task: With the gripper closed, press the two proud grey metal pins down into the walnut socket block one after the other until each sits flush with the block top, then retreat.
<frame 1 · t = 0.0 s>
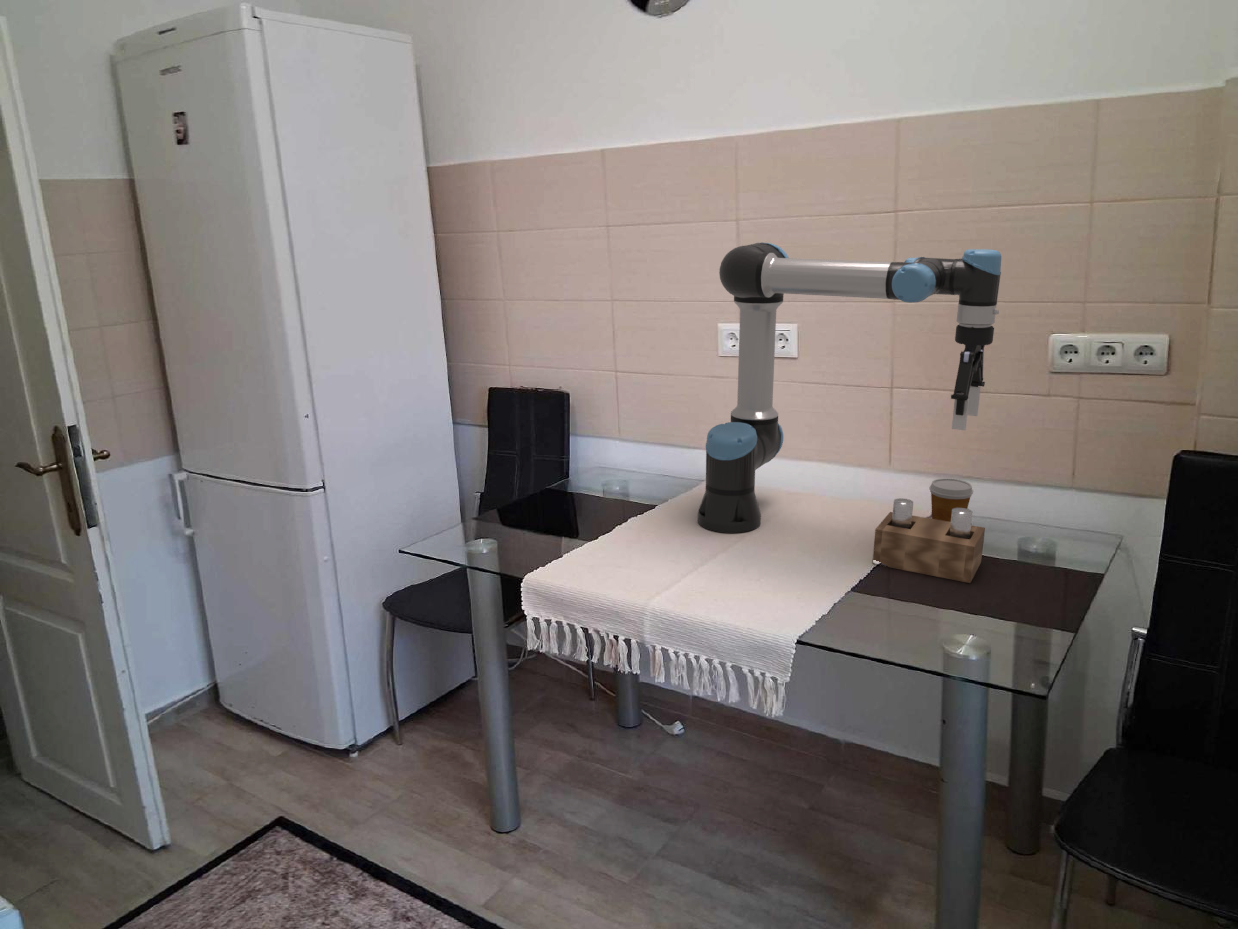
hand: (964, 422, 198), 28 cm above the table, fingers open, 13 cm apart
socket block: (926, 563, 195), on the table
pin 1: (902, 517, 195), point 9 cm above the table, slide at 5.0 cm
pin 2: (960, 527, 189), point 9 cm above the table, slide at 5.0 cm
disposable coffee cup: (946, 533, 212), on the table
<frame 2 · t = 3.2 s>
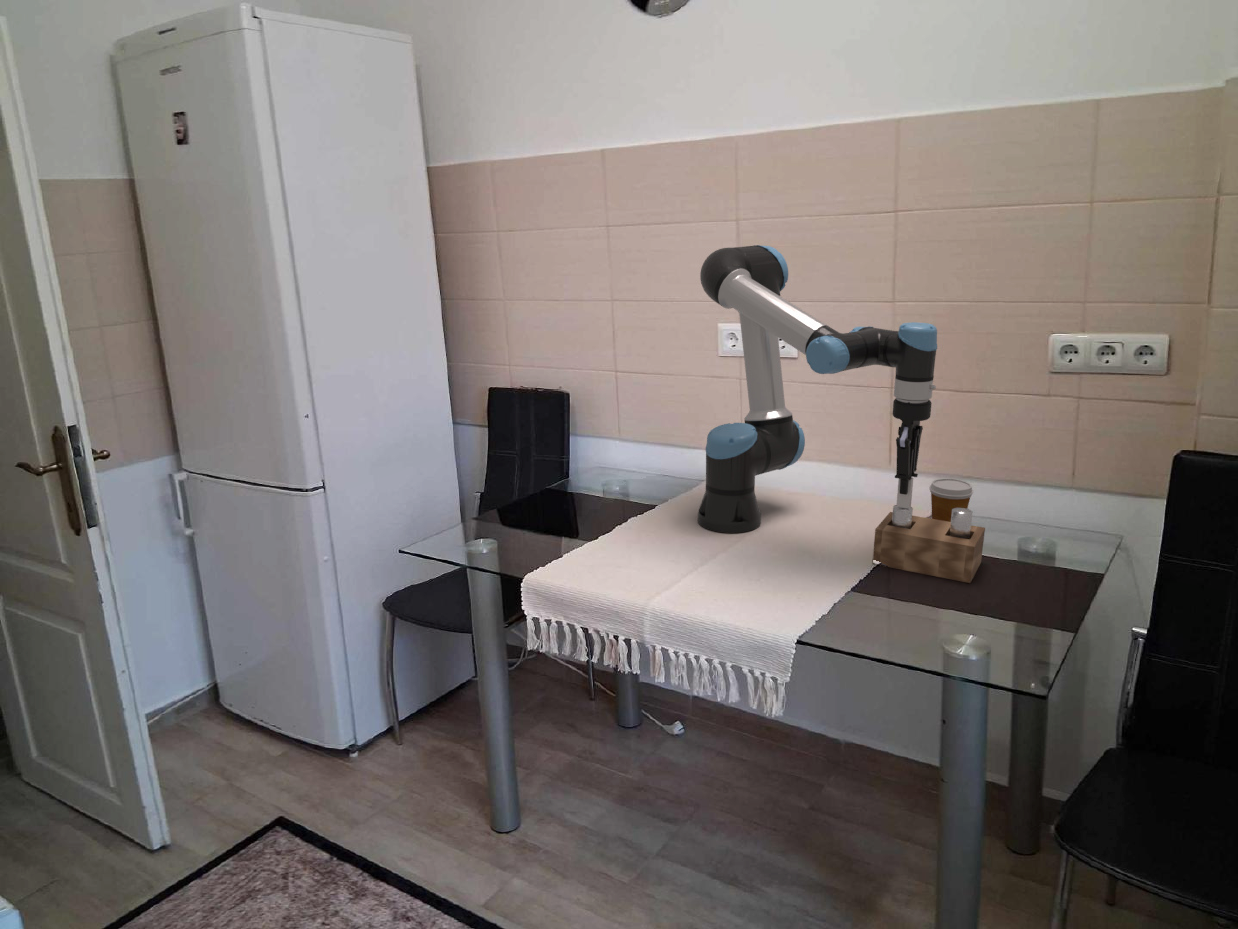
hand: (903, 506, 194), 12 cm above the table, fingers closed
pin 1: (901, 523, 196), point 8 cm above the table, slide at 3.6 cm, touching gripper
everything else where it was.
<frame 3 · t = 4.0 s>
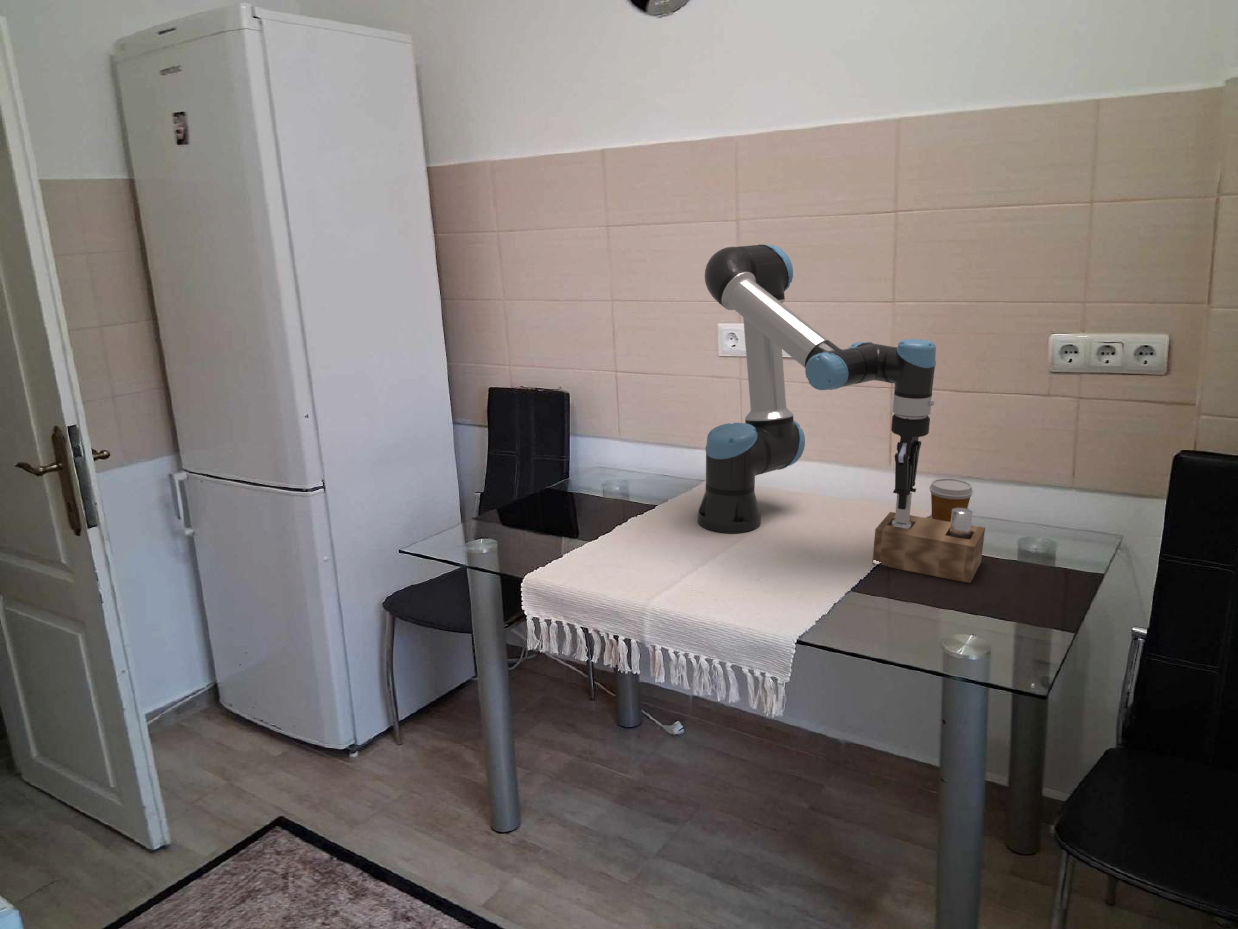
hand: (902, 521, 195), 9 cm above the table, fingers closed
pin 1: (900, 538, 197), point 5 cm above the table, slide at 0.2 cm, touching gripper
everything else where it was.
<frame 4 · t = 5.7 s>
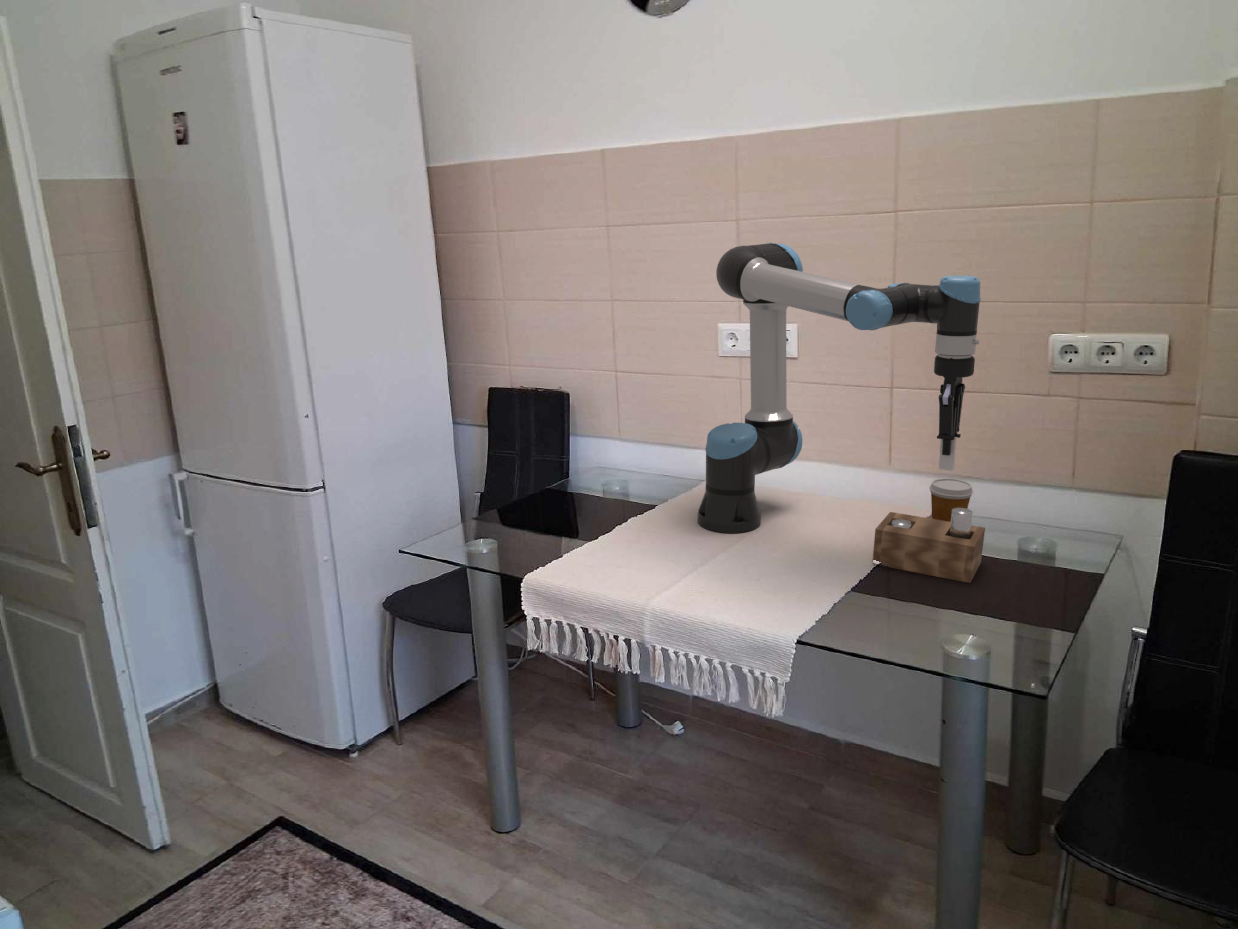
hand: (946, 468, 187), 22 cm above the table, fingers closed
pin 1: (900, 538, 197), point 4 cm above the table, slide at 0.2 cm
everything else where it was.
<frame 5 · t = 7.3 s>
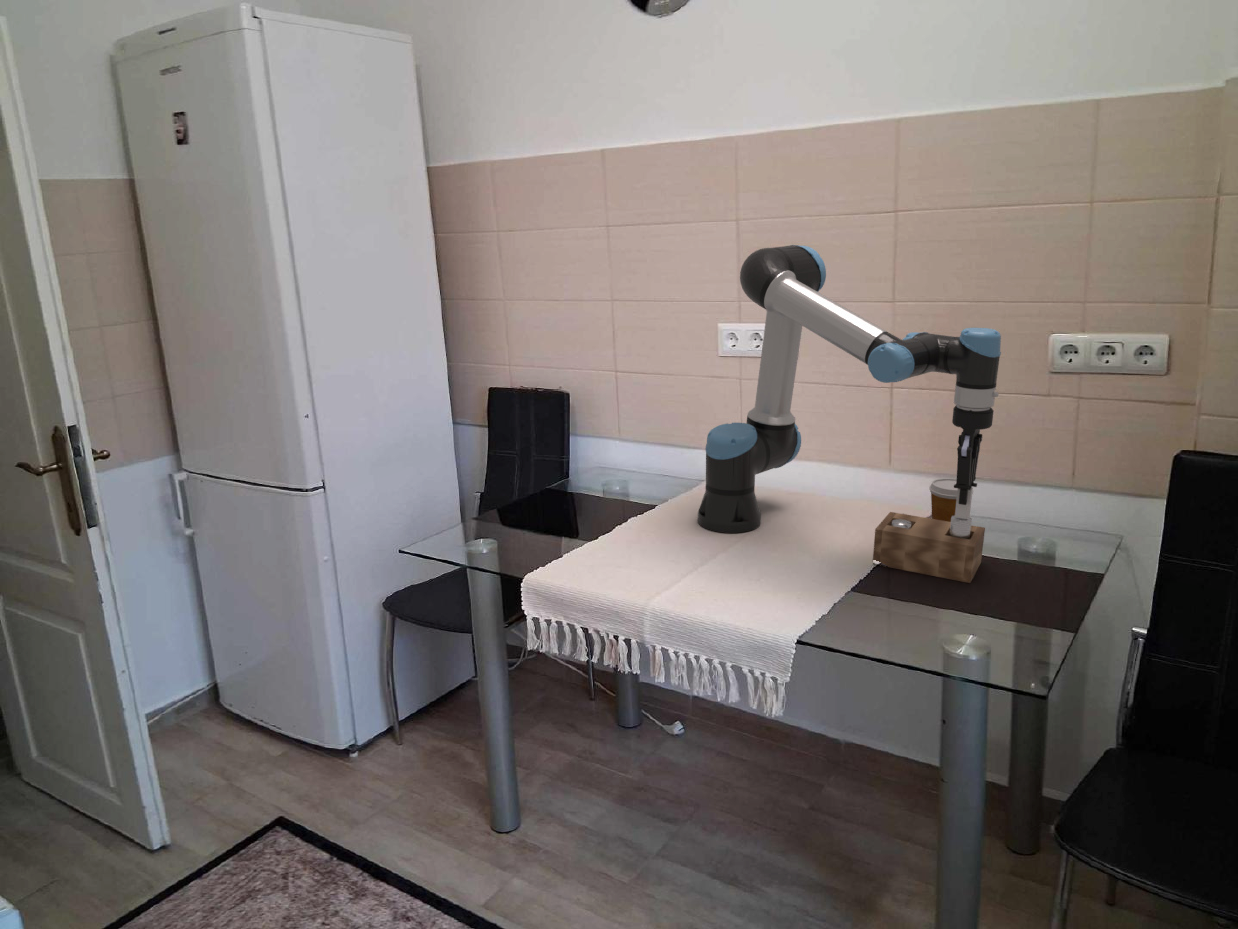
hand: (962, 517, 189), 12 cm above the table, fingers closed
pin 2: (959, 534, 190), point 8 cm above the table, slide at 3.4 cm, touching gripper
everything else where it was.
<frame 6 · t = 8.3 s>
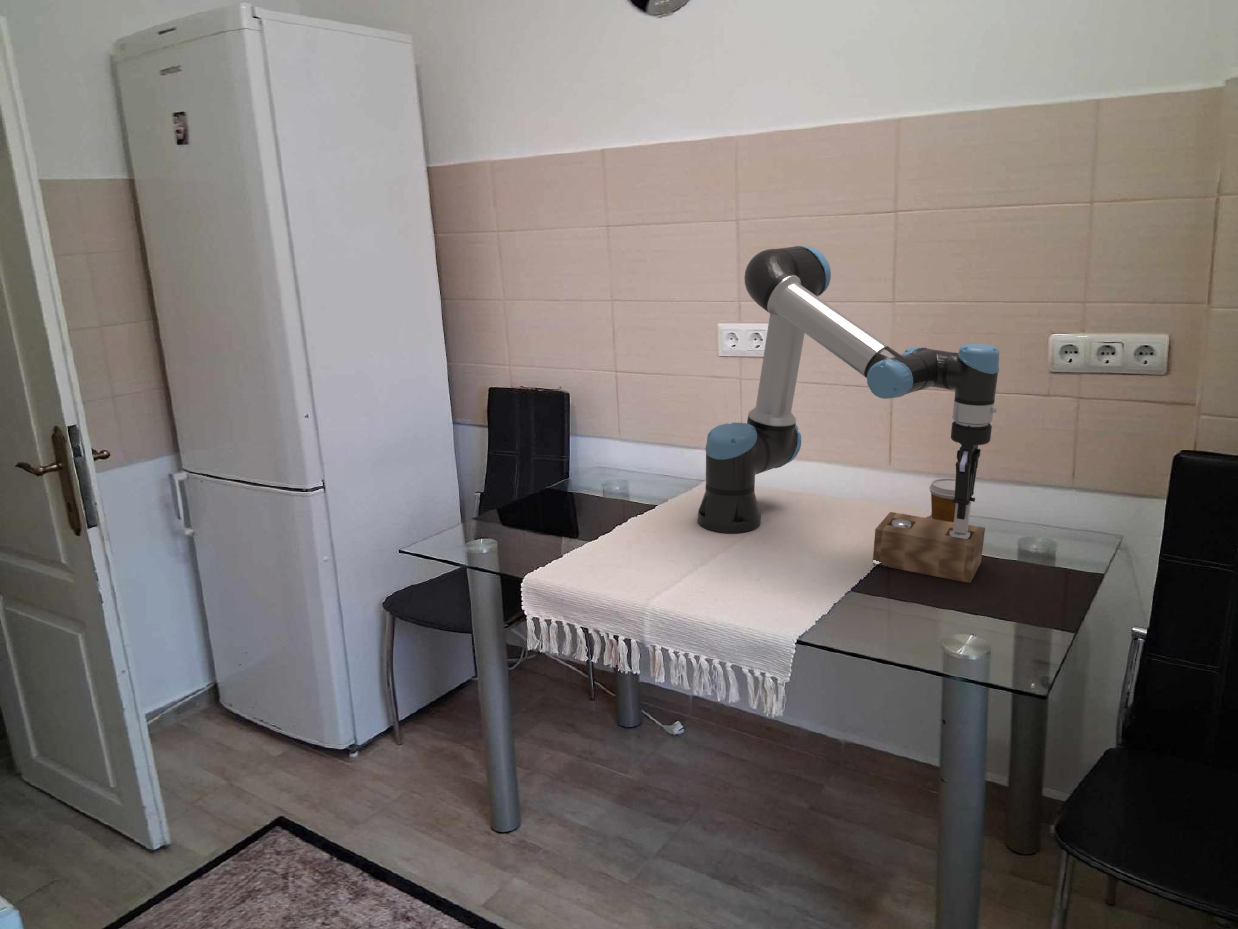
hand: (960, 531, 190), 8 cm above the table, fingers closed
pin 2: (958, 549, 191), point 5 cm above the table, slide at 0.2 cm, touching gripper
everything else where it was.
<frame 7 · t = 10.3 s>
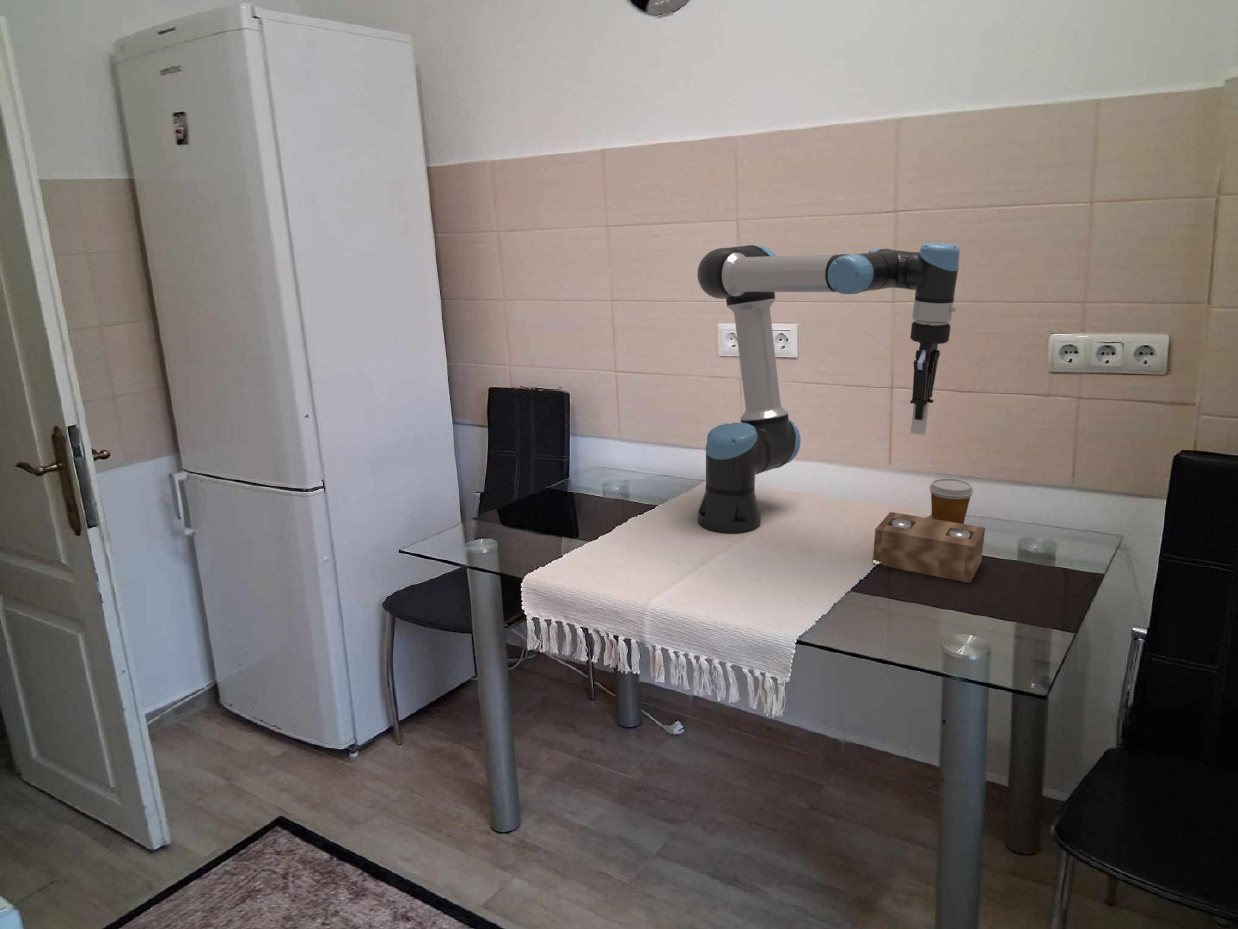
hand: (917, 433, 192), 27 cm above the table, fingers closed
pin 2: (958, 549, 191), point 5 cm above the table, slide at 0.2 cm
everything else where it was.
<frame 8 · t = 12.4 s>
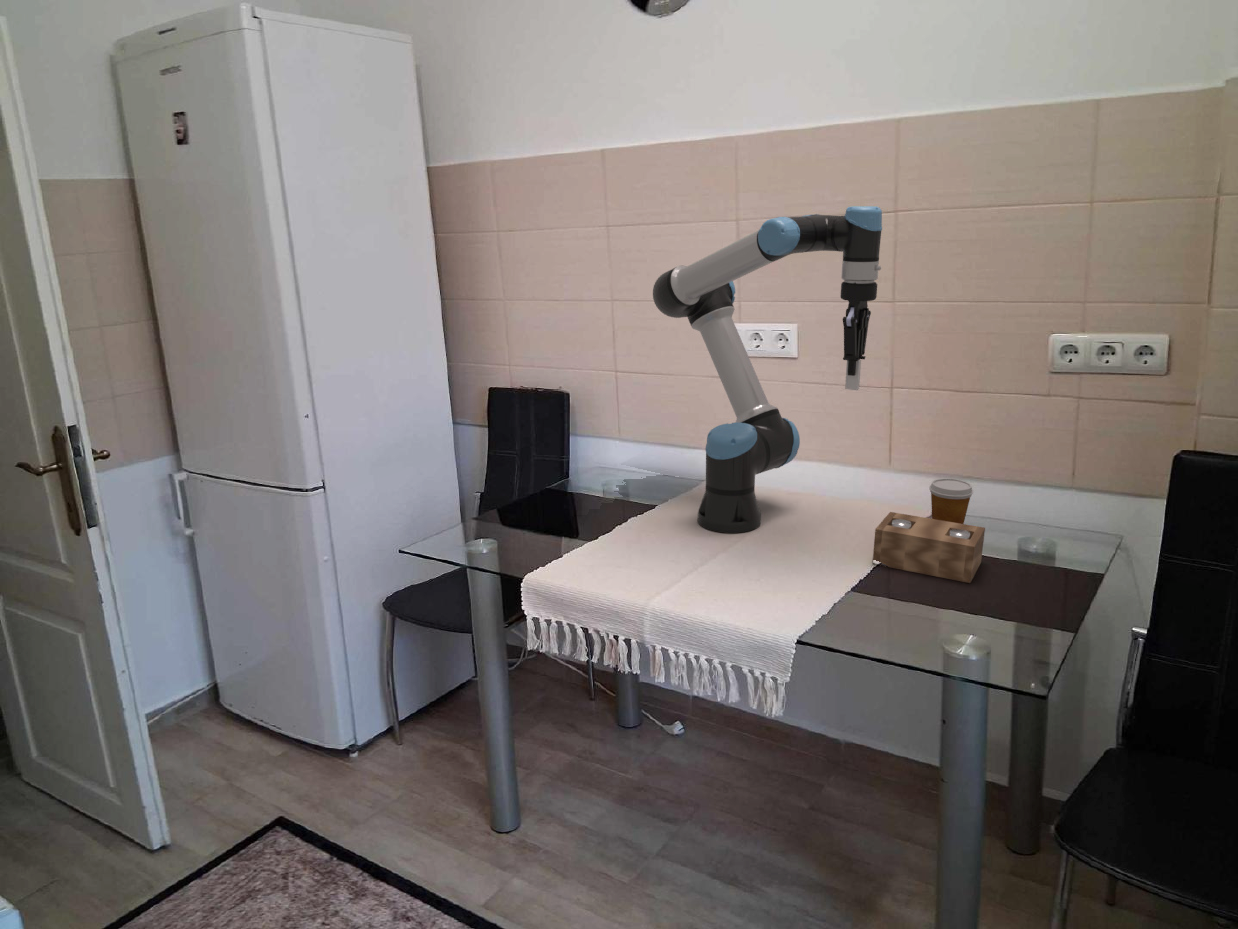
hand: (852, 388, 202), 34 cm above the table, fingers closed
nothing on the table moved.
at the end: pin 1 slide at 0.2 cm; pin 2 slide at 0.2 cm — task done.
